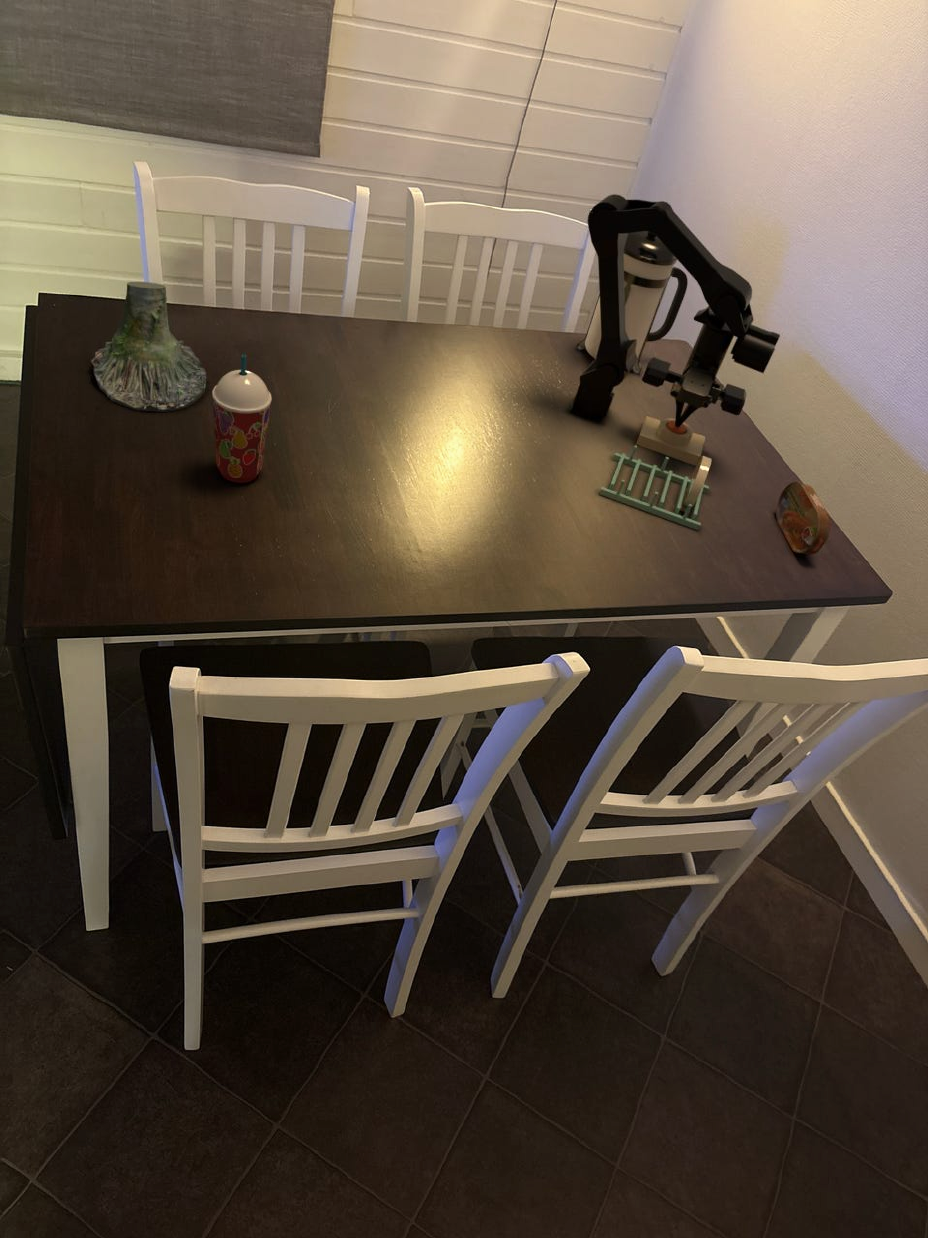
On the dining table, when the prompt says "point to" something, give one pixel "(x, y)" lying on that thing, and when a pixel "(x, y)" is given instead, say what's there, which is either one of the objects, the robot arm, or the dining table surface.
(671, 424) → the button
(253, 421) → the smoothie
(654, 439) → the panel
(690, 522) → the rack
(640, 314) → the coffee press
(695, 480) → the plate
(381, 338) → the dining table surface
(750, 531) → the dining table surface
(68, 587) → the dining table surface
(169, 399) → the tree stump
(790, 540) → the tin
